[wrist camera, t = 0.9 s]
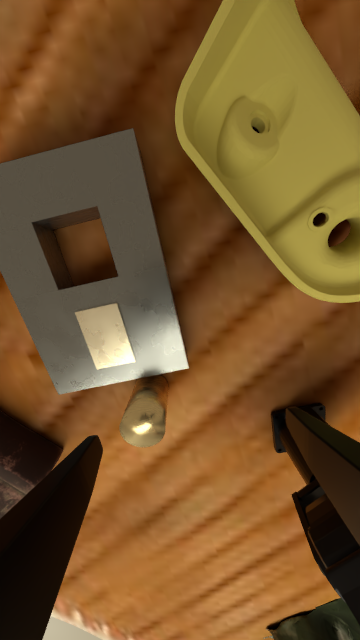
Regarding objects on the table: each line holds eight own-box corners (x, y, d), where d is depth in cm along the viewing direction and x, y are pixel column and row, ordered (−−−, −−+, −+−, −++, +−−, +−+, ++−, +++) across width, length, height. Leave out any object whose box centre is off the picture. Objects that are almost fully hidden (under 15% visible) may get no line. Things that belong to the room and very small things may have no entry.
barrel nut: (171, 397, 22) (169, 442, 16) (140, 403, 22) (127, 450, 16) (164, 369, 21) (158, 406, 15) (131, 376, 21) (113, 415, 15)
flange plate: (187, 356, 20) (188, 369, 18) (72, 380, 21) (57, 395, 18) (140, 151, 15) (132, 126, 13) (-11, 190, 16) (-48, 174, 13)
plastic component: (161, 122, 13) (313, -179, 7) (192, 152, 19) (287, 7, 13) (320, 323, 15) (532, 230, 9) (302, 293, 22) (424, 225, 16)
